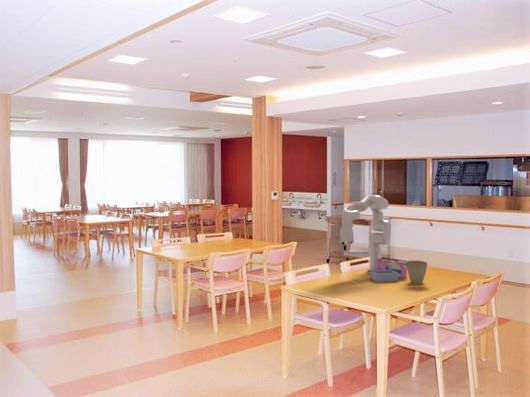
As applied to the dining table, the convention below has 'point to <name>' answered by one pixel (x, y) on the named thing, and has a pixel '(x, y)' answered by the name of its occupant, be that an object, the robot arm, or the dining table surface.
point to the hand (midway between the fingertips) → (346, 250)
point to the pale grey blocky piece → (362, 251)
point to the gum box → (393, 266)
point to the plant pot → (416, 271)
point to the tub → (384, 276)
